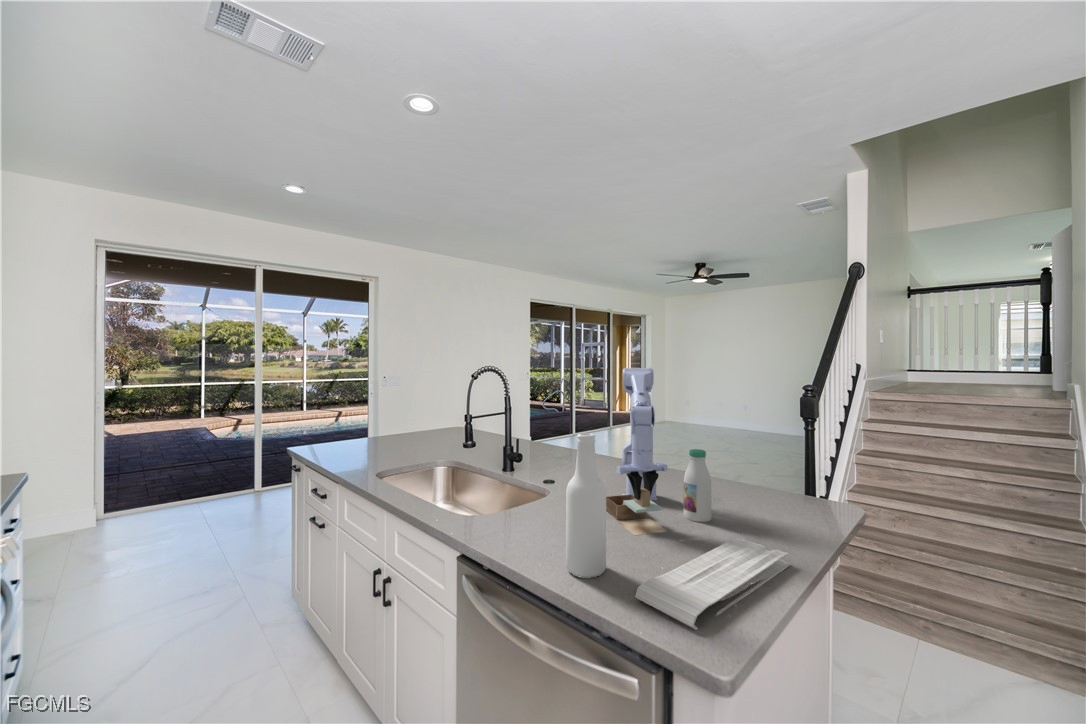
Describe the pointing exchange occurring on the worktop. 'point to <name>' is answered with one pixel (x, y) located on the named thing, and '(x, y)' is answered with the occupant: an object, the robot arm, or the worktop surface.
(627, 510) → the box
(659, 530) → the mat
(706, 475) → the milk bottle
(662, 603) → the hand towel
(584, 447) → the alcohol
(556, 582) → the worktop surface
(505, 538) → the worktop surface
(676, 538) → the worktop surface
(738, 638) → the worktop surface
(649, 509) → the lid
